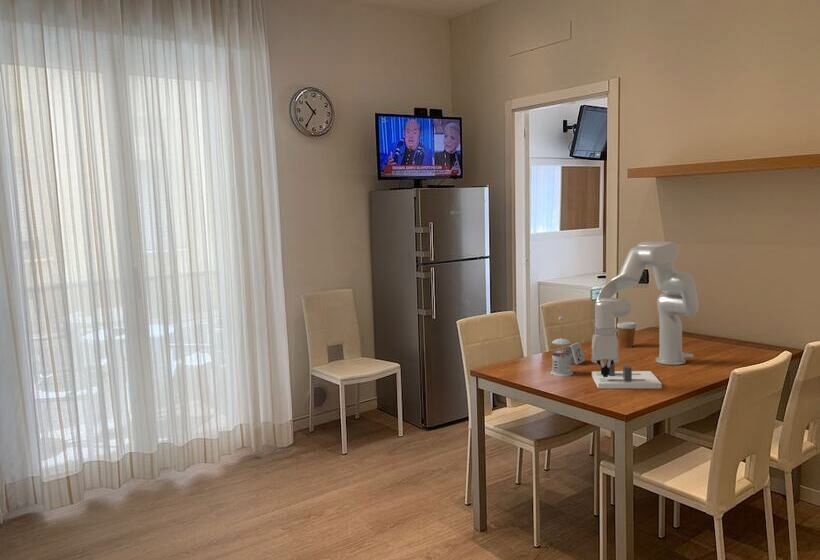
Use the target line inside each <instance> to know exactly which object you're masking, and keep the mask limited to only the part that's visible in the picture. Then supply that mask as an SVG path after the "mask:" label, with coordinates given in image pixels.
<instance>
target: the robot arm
mask: <svg viewBox="0 0 820 560" xmlns="http://www.w3.org/2000/svg"><path fill="white" fill-rule="evenodd" d="M679 251H680V250H679V247H678V245H677V244H676V243H675V242H673V241H647V240H646V241H641V242H639V243H638V244H637V246H634V247H631V248H630V249H629V251H628V253H627V254H626V256H625V259H624V261H623V264H622V265H621V268H620V271H619V272H618V274H617V275H616V276H615V277H613V278H611V279H610V280H609V281H608V282H607V283H604V285H602V286H603V287H601V289H600V290H599V293H598V295H597V298H596V300H595V304H594V334H593V335H592V340H591V352H590V353H591V354H590V355H591V359H590V361H591V362H592V363H595V364H598V366H600V371H601V375H603V377H605V376H606V377H608V375H609V367H610V366H611V365H612V364H613V363H615V364H616V363H619V362H620V359H619V353H620V352H619V342H618V336H617V334H616V333H618V331H619V330H618V328H616V327H615V326H616V325H615V324H616V323H615V319H617V318H625V317H627V316H628V315H629V314H630V313H631V311H632V304H631V303H630V301H629V300H627V299H623V298H617V297H616V298H615V297H614V295H616V294H617V293H619V292H621V291H623V290H624V291H625V290H626V289H629V288H632V287H635V286H636V285H638V284H639V282H640V280H641V277H642V275H643V272H644V270H645V269H646V268H647V267H648V268H649V267H651V268H652V271H653V276H654V280H655V284H656V288H657V290H658V291H659V292H662V293H661V294H659V296H658V297H657V300H656V306H657V311H658V317H659V318H658V319H659V322H658V323H659V324H658V325H659V330H658V333H659V335H658V336H659V338H658V339H659V342H658V343H659V344H658V346H659V347H658V348H659V351H658V352H659V353H658V354H659V356H657V357H656V358H655V362H656V363H658V364H661V365H667V366H668V365H670V366H675V365H676V366H678V365H684V364H686V363H687V362H686V359H694V353H684V351H683V322H682V320H681V318H680V316H687V317H691V316H695V315H696V314H697V313H698V311H699V306H700V303H699V297H698V292H697V291H698V290H697V287H696V282H695V281H696V280H695V279H694V276H693V275H692V274H691V273H689V272H685V271H677V270H675V266H674V264H673V263H674V262H675V261H676V259H678V256H679ZM604 361H605V364H604Z"/></svg>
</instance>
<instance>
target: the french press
mask: <svg viewBox="0 0 820 560" xmlns="http://www.w3.org/2000/svg"><path fill="white" fill-rule="evenodd" d="M563 319H564V317H562V316H559V317H558V320H559V321H562V320H563ZM551 344H553V345H555V346H558V349H554V350H553V351H552V353H553V354H552V355H551V357H552V359H551V360H552V362H551V363H552V364H551V365H552V371H550V374H551V375H552V374H553V375H552V376H556V375H557V376H558V377H566V376H567V377H568V376H572V375H574V372H573V371H572V364H571V355H570V354H571V353H570V354H568V353H569V352H570V351H569V350H566V349H564V346H568V345H569V346H570V345H571V341H570V340H568V339H566V338H562V337H560V338H557V339H554V340H553V341H551ZM557 376H556V377H557Z"/></svg>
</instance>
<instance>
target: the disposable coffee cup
mask: <svg viewBox="0 0 820 560" xmlns="http://www.w3.org/2000/svg"><path fill="white" fill-rule="evenodd" d="M616 327H617V329H618V330H619V331H618V332H617V334H618V340H619V347H621V346H623V347H622V348H626V347H629V348H633V347H634V343H635V334H636V327H637V323H636V322H634V321H619V322H617V324H616ZM632 346H633V347H632Z"/></svg>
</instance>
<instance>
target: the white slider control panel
mask: <svg viewBox="0 0 820 560" xmlns="http://www.w3.org/2000/svg"><path fill="white" fill-rule="evenodd" d="M615 364H616V363H613V364H612V365H611V366H610V367H609V375H608V377H606V376H605V377H603V375H601V370H599V371H598V370H597V371H596V370H595V371H591V377H592V380H593V381H594V384H595V385H596V387H597V389H662V388H663V387H662V385H663V384H662V382H661V381H660V380H659V379H658V377H657V376H656V375H655V374H654V373H653V371H651V370H636V371H635V370H632V381H625V380H624V378H623V370H620V371H617V370H615V366H616V365H615Z"/></svg>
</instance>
